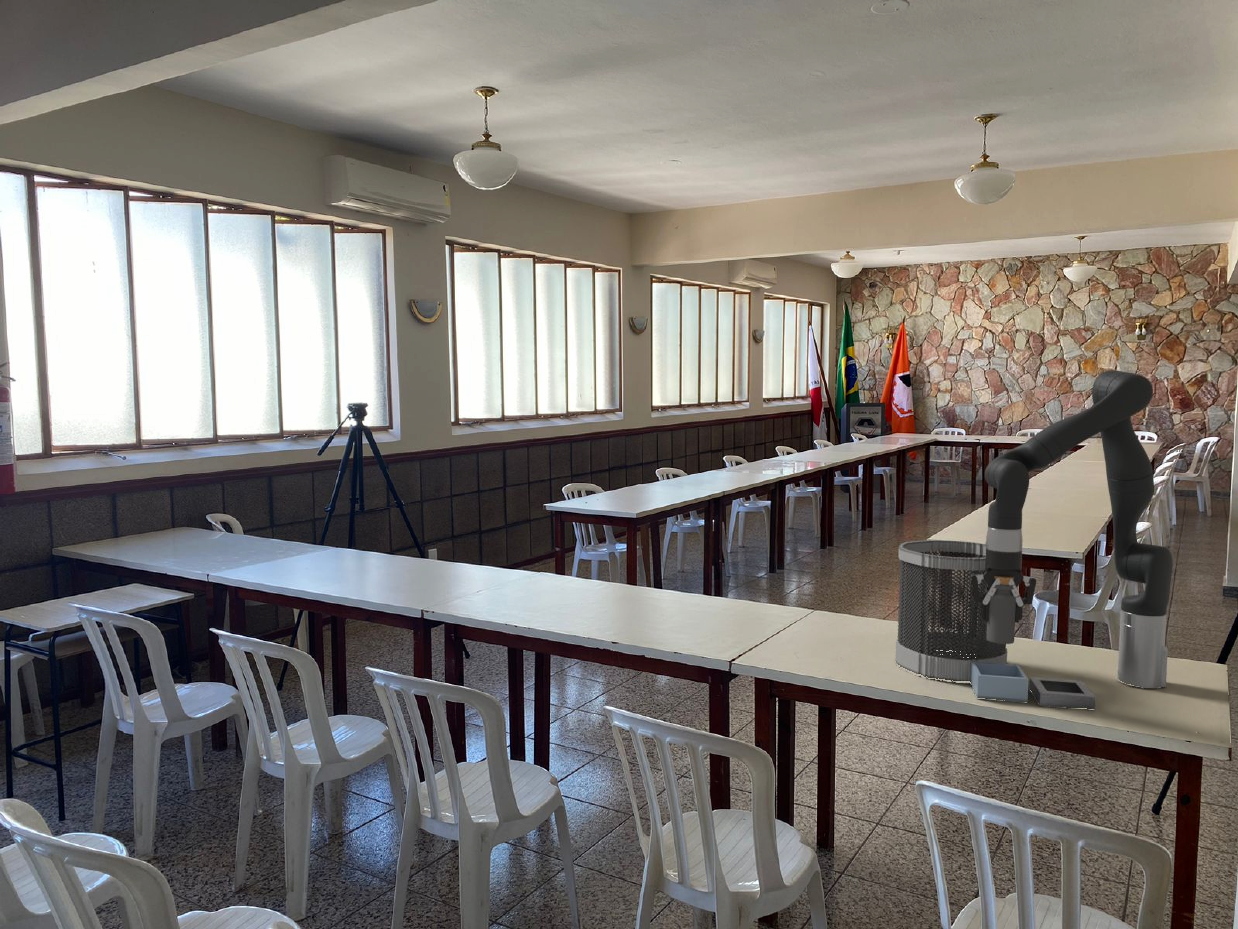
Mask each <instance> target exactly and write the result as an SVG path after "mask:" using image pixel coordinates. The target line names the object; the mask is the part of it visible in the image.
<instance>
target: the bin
mask: <svg viewBox="0 0 1238 929" xmlns="http://www.w3.org/2000/svg"><path fill="white" fill-rule="evenodd" d="M970 682H971V684H972V687H973V689H974V691H975V693H974V695H975V694H976V696H977V698H985V699H996V700H1003V701H1002V702H1004V700H1005V701H1014V702H1013V703H1017V702H1027V703H1028V700H1029V699H1028V696H1029V693H1028V692H1029V678H1028V676H1027V675H1026V673H1025V671H1024V670H1023V669H1022V668H1021V666H1020V665H1019V664H1008V663H1007V664H997V663H983V662H971V680H970ZM972 687H971V688H972ZM973 689H972V690H973ZM974 691H973V692H974ZM976 696H975V697H976ZM977 698H976V699H977Z"/></svg>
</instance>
